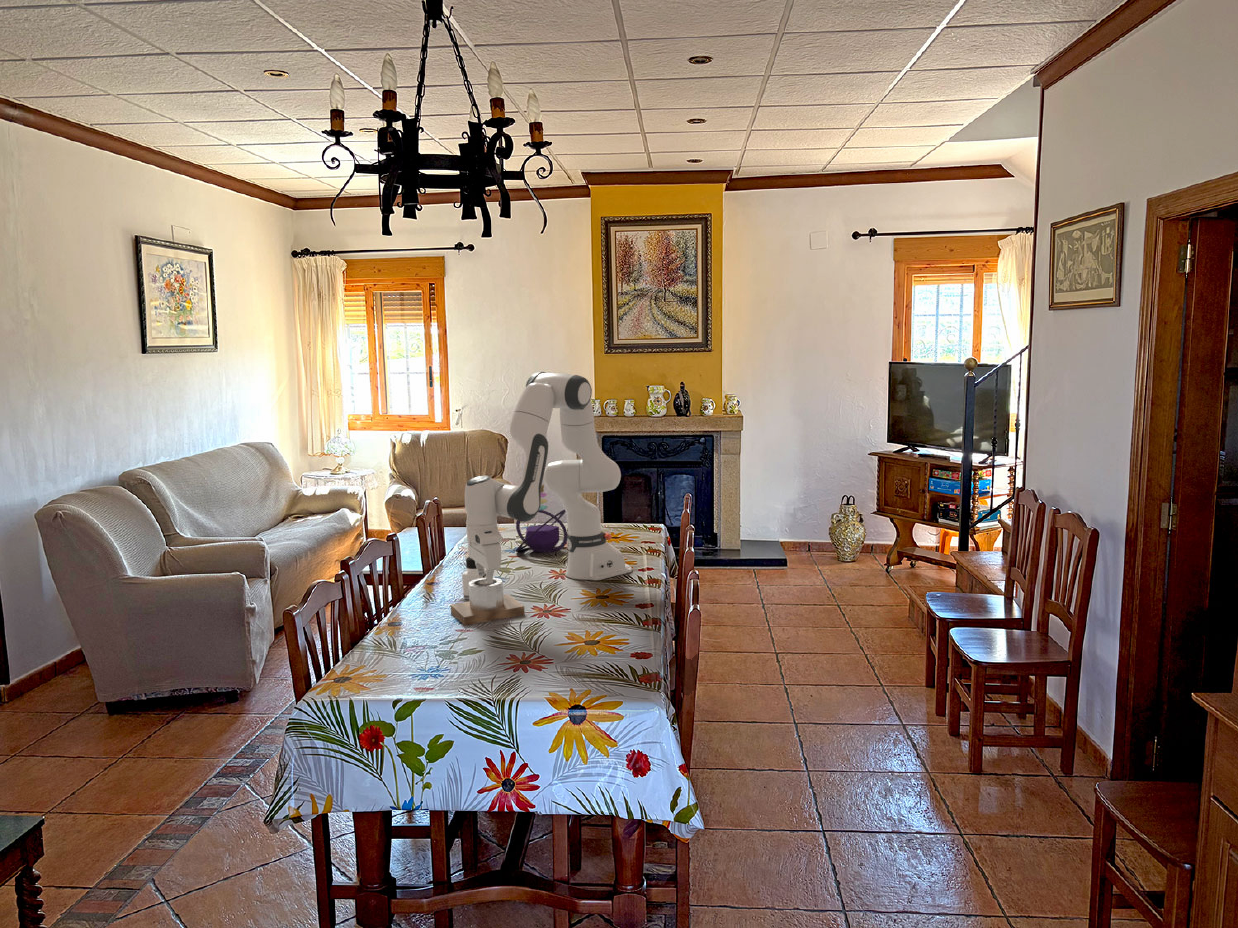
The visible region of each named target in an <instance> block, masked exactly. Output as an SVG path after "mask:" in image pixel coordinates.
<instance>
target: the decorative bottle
mask: <svg viewBox="0 0 1238 928" xmlns="http://www.w3.org/2000/svg"><path fill="white" fill-rule="evenodd" d="M544 488H545V484H542V487H541V504H540V509H539V511H538V514H539V513H540V514H544V515H547V516H550V518H549V519H548V520H547V521H546V522H544V523H543V524H538V525H530V523H528V524H529V525H530V526H527V527H526V532H525V535H524V534H522V531H521V528H520V526H521V521H518V520H516V522H515V529H516V532H517V535H518V536H519V539H520V540H521V541H522V542H521V543H520V544H519V546H518V547H517V548H516V549H515V552H516V553H517V552H520V551H522V550H524V549H526V548H527V547H528V548H529V549H531V550H532V551H533V552H535V553H536V552H537V553H545V554H547V553H549V554H550V553H553V554H554V553H556V552H559V551H561V550H562V549H563V548H564V547H565V546H567V534H568V529H566V526H565V525H564V523H563V522H562V521H561V520H560V519H561V518H562V517H563V516H564V515H565V514H566V511H565V509H562V510H561V511H559V512H558V513H556V514H555V515H554V514H553V513H551V512H549V511H547V508H548V505H544V504H546V503H547V502H548V500H547V498H545V497H547V496H548V493H546V492H544ZM552 520H553V522H552ZM550 521H551V524H548V523H549V522H550ZM556 523H558V524H559V526H561V528H562V529H561V530H562V532H563V539H562V542H560V545H558V546H556V545H557V544H558V543H559V541H560V527H559V526H556V525H555V524H556ZM533 524H534V523H533ZM523 535H524V536H523Z"/></svg>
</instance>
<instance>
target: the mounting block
mask: <svg viewBox="0 0 1238 928" xmlns="http://www.w3.org/2000/svg"><path fill="white" fill-rule="evenodd" d="M503 596H504V604H503V606H502V607H500V608H497V609H493V610H484V611H479V610H473V609H471V608H470V602H469V600H468V601H463V602H457V603H453V604H450V613H451V614H452V615H453V616H454V617H455V618H456V619H457V620H458V621H459V622H460V623H462V624H463V626H465V627H466V626H470V625H475V624H480V623H481V624H482V623H486V622H493V621H496V620H497V621H498V620H503V619H508V618H513V617H519V616H525V613H526V611H525V606H524V605H523V604H522V603H520V602H519V601H518V600H516V599H515V598H513V597H512V596H511V595H510V594H503Z"/></svg>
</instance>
